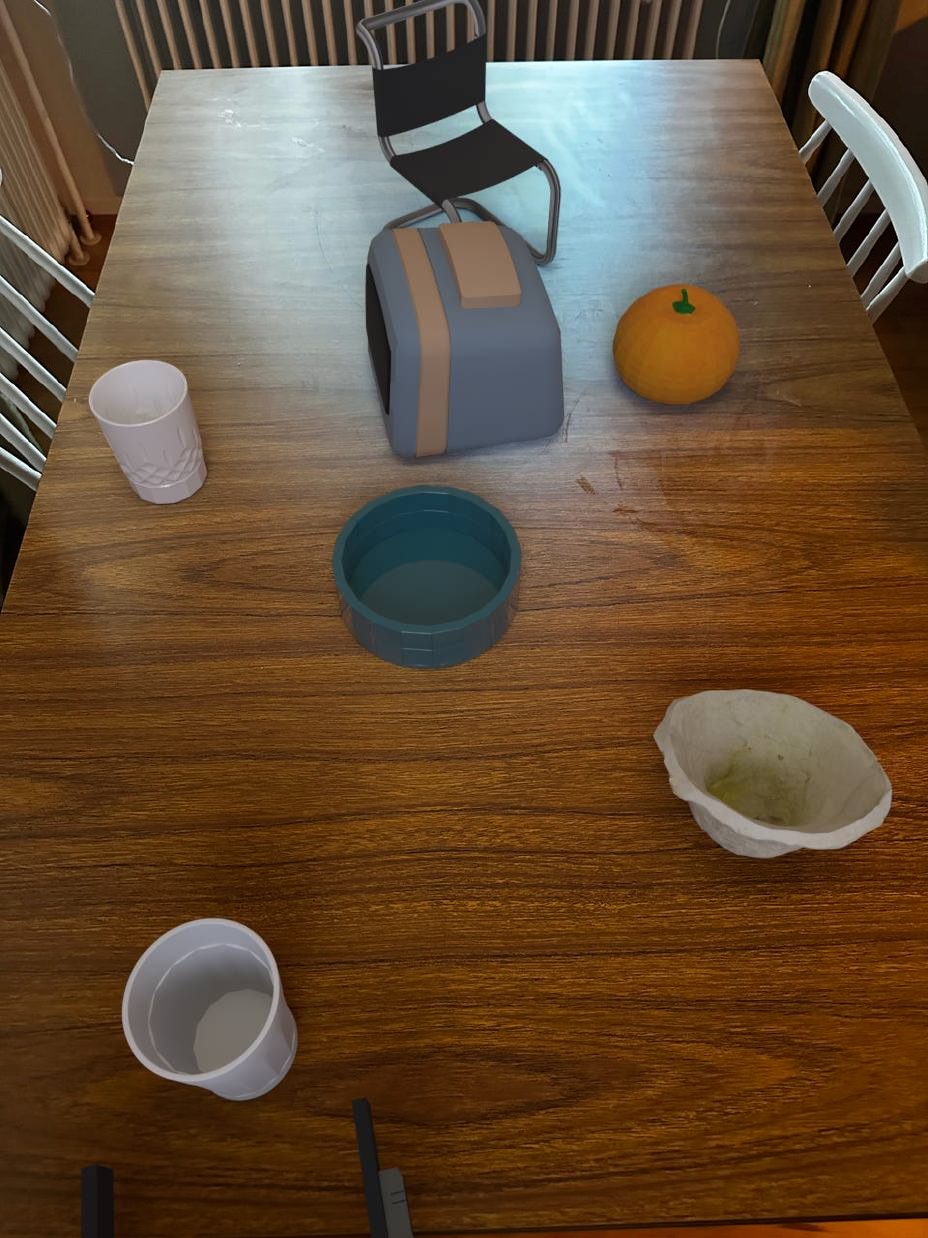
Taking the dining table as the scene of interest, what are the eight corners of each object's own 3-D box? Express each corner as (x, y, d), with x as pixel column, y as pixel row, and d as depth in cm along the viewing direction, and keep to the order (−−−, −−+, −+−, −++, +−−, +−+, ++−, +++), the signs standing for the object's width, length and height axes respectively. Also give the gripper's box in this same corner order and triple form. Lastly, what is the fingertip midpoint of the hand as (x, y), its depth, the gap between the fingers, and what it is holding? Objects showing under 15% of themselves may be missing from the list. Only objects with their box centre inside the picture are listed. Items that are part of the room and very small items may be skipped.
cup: (212, 1145, 55) (156, 1116, 46) (160, 1021, 59) (99, 970, 49) (333, 1065, 58) (306, 1022, 48) (276, 952, 62) (240, 890, 52)
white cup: (108, 475, 86) (70, 389, 77) (182, 432, 89) (153, 346, 80) (156, 524, 82) (121, 440, 74) (231, 478, 85) (206, 393, 77)
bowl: (852, 735, 70) (903, 664, 62) (852, 921, 63) (911, 867, 54) (650, 696, 72) (673, 622, 64) (626, 872, 65) (649, 812, 56)
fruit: (628, 429, 89) (644, 342, 80) (593, 347, 95) (604, 259, 87) (748, 410, 90) (775, 323, 82) (704, 331, 96) (726, 243, 88)
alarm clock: (366, 353, 95) (349, 205, 82) (525, 331, 97) (534, 183, 84) (393, 471, 86) (379, 326, 73) (568, 444, 88) (586, 297, 74)
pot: (355, 685, 73) (348, 650, 69) (327, 541, 81) (320, 502, 77) (539, 649, 75) (542, 612, 71) (493, 511, 83) (495, 471, 79)
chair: (464, 196, 110) (463, -16, 92) (557, 272, 102) (576, 55, 84) (368, 235, 106) (348, 20, 88) (457, 317, 98) (455, 99, 80)
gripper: (-10, 1792, 39) (12, 1203, 51) (573, 1602, 42) (466, 1088, 54) (-99, 1888, 33) (-52, 1192, 45) (590, 1658, 36) (465, 1063, 48)
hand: (231, 1134), depth 49 cm, fingers open, 13 cm apart
